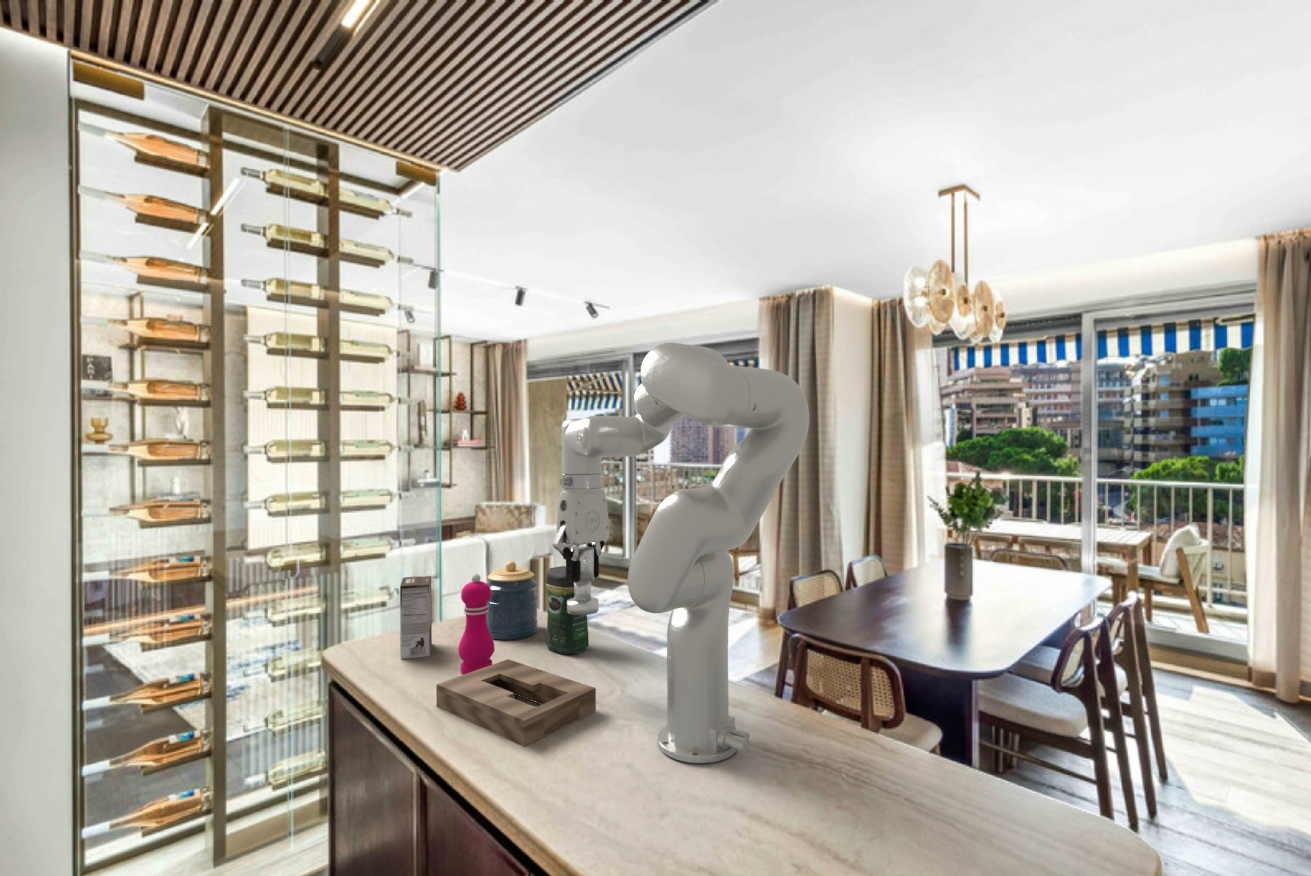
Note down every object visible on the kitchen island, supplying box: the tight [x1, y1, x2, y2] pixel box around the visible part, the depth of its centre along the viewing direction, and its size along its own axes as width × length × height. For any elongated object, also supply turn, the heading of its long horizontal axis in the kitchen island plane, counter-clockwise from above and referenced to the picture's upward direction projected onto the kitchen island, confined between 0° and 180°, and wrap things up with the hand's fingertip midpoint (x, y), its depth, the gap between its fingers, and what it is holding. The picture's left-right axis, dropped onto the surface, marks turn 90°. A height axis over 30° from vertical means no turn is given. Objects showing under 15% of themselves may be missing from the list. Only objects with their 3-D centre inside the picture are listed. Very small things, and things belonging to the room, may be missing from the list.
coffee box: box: [399, 575, 433, 660], centre depth 142 cm, size 9×6×16 cm
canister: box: [486, 560, 539, 641], centre depth 155 cm, size 13×13×18 cm
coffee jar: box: [545, 565, 590, 655], centre depth 143 cm, size 10×8×19 cm
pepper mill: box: [457, 573, 495, 675], centre depth 130 cm, size 7×7×20 cm
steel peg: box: [567, 545, 600, 616], centre depth 120 cm, size 6×6×12 cm
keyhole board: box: [435, 658, 597, 747], centre depth 111 cm, size 24×16×4 cm, turn 52°
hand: (582, 577), depth 120 cm, fingers closed on steel peg, 4 cm apart
